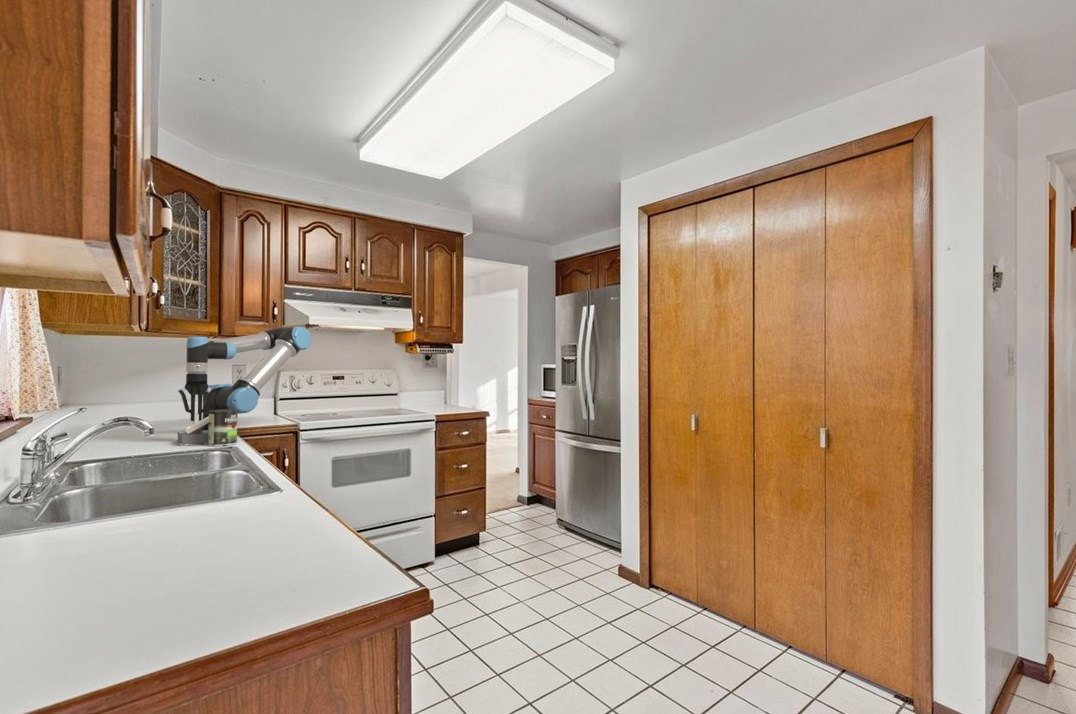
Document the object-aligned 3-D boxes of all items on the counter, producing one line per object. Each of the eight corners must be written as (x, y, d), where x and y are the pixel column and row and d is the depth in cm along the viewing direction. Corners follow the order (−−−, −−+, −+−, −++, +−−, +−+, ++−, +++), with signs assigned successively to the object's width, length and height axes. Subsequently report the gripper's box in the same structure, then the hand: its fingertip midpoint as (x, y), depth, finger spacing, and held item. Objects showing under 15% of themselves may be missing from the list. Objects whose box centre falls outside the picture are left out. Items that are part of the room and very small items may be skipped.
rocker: (186, 433, 216) (183, 428, 215) (211, 419, 222) (208, 415, 221) (187, 434, 213) (184, 429, 212) (212, 420, 218) (210, 416, 218)
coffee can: (243, 443, 218) (243, 409, 218) (223, 447, 208) (224, 411, 208) (222, 442, 220) (222, 408, 221) (201, 446, 210) (202, 410, 210)
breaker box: (177, 441, 220) (177, 427, 220) (210, 439, 228) (211, 425, 228) (182, 445, 210) (182, 430, 210) (216, 442, 218) (216, 428, 218)
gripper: (179, 373, 215) (178, 430, 214) (216, 373, 223) (215, 428, 223) (177, 372, 220) (176, 429, 220) (213, 372, 229) (212, 426, 228)
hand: (196, 428), depth 221 cm, fingers closed
